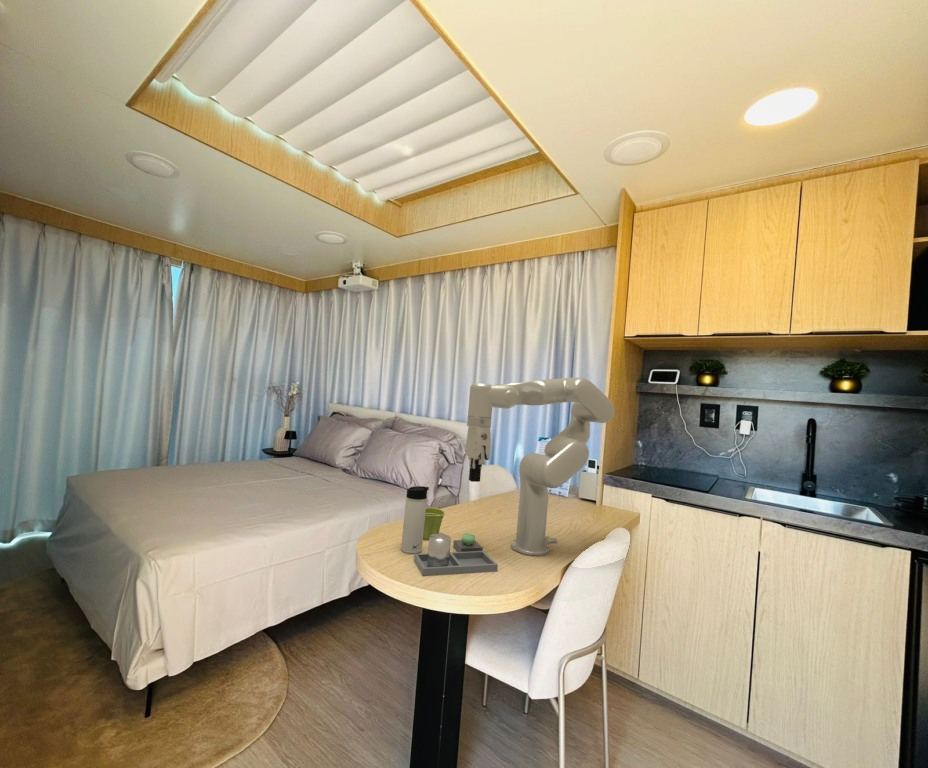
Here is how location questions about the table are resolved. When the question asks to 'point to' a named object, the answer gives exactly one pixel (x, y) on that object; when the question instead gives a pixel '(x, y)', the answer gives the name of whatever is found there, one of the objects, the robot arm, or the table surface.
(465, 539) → the button
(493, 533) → the table surface
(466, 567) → the divided tray
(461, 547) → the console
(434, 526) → the plant pot
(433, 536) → the steel stub
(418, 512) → the travel mug
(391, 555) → the table surface
